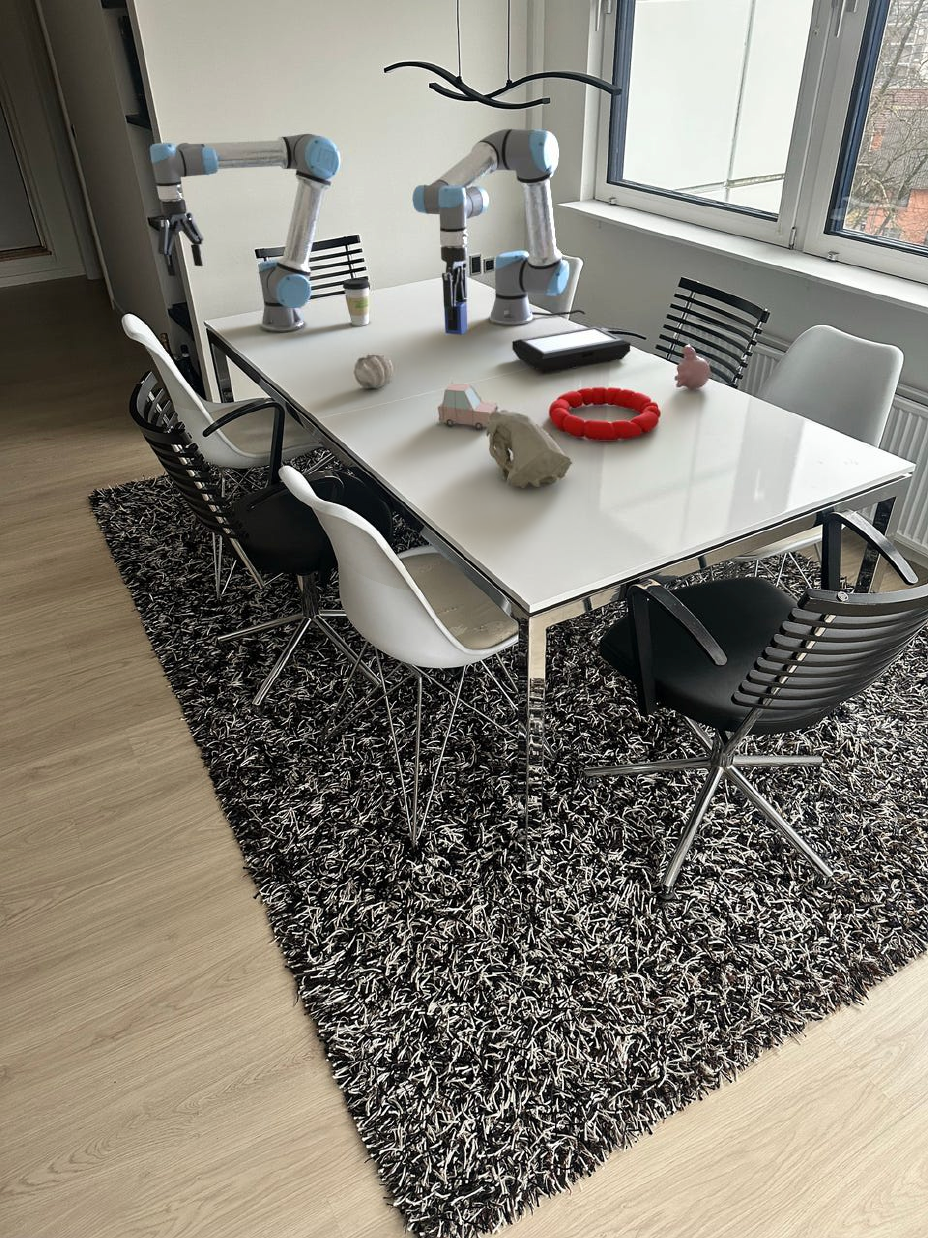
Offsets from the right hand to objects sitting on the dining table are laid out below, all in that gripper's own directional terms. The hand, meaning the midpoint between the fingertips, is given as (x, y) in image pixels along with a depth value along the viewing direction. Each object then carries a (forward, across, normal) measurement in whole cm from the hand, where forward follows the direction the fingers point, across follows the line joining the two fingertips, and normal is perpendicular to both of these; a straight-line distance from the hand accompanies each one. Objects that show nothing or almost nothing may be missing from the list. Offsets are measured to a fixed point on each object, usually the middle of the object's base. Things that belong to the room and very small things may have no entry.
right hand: (456, 326), depth 269 cm
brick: (+2, 0, 0) cm, 2 cm away
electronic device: (+15, +26, -29) cm, 41 cm away
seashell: (+15, -17, +20) cm, 30 cm away
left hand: (-11, -4, +93) cm, 94 cm away
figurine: (+15, +11, -70) cm, 72 cm away
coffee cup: (+15, +41, +56) cm, 71 cm away
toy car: (+15, -34, -17) cm, 42 cm away
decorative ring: (+15, -22, -52) cm, 59 cm away
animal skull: (+15, -58, -41) cm, 73 cm away
